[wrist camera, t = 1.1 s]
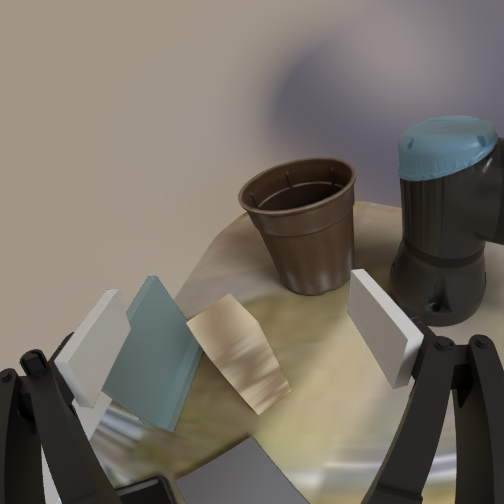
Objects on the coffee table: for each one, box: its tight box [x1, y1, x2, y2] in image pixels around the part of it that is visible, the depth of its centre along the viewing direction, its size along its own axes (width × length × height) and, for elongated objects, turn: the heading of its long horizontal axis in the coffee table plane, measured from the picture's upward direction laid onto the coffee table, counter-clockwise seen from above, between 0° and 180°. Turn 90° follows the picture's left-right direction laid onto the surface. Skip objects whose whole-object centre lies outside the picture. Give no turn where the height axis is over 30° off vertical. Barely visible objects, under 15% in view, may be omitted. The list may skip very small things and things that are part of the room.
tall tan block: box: [186, 293, 292, 415], centre depth 29 cm, size 5×5×14 cm
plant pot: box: [238, 157, 356, 295], centre depth 42 cm, size 16×16×16 cm
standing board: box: [101, 276, 204, 433], centre depth 34 cm, size 5×16×13 cm, turn 167°
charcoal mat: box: [174, 436, 310, 504], centre depth 22 cm, size 11×11×1 cm
